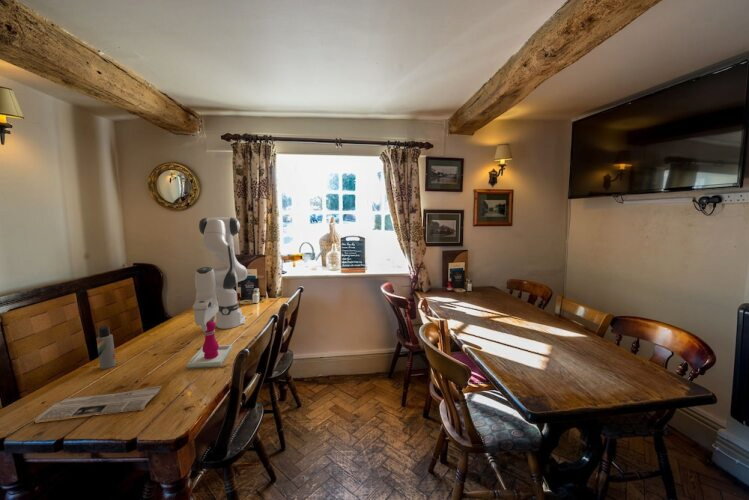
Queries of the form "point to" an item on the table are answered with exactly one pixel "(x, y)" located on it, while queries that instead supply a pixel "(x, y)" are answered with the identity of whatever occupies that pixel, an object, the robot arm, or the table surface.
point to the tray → (201, 362)
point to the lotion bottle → (105, 348)
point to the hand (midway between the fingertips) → (208, 327)
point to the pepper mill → (210, 341)
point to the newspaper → (101, 404)
